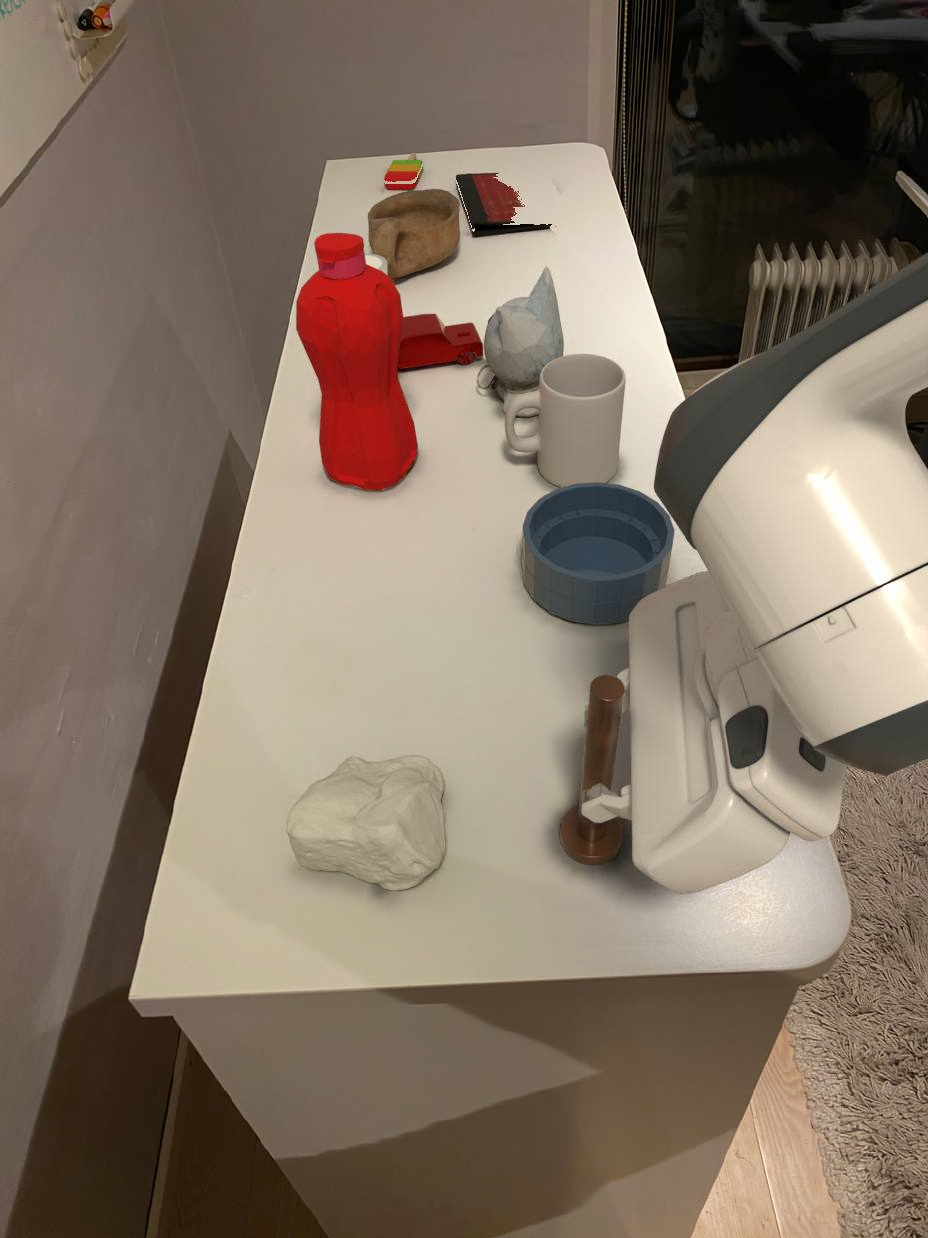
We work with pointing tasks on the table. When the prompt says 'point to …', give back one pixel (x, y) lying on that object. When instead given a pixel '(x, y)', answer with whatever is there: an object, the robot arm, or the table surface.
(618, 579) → the stir bowl
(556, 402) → the mug
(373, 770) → the decorative stone
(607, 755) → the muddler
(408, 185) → the popsicle
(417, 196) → the bowl
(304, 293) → the water bottle
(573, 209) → the table surface
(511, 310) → the figurine
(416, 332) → the toy car
